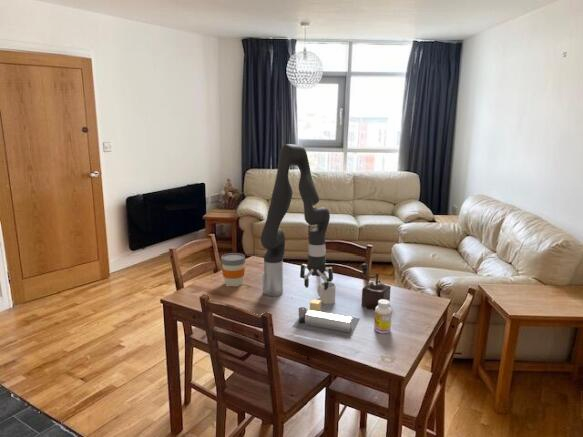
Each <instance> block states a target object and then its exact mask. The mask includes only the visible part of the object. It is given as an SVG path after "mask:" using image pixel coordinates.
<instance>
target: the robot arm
mask: <svg viewBox="0 0 583 437" xmlns="http://www.w3.org/2000/svg"><path fill="white" fill-rule="evenodd" d="M278 156H279V157H278V163H277V171H276V177H275V182H274V185H273V190H272V193H271V198H270V204H269V208H268V212H267V215H266V216H267V217H266V219H265V223H264V225H263V229H262V232H261V235H260V243H261V246H263V248H264V249H266V252H265V253H264V255H263V275H262V294H264V295H266V296H268V297H278V296H281V295H282V294H283V293H284V292H283V291H284V288H283V287H284V286H283V285H284V281H283V280H284V278H283V276H284V275H283V274H284V272H283V271H284V270H283V269H284V268H283V267H284V266H283V264H284V261H283V258H284V255H285V245H286V239H285V233H284V231H283V230H282V228H280V225H281V223H282V221H283V219H284V218H285V216H286V214H287V213H288V210H289V208H290V206H291V202H292V198H293V189H292V186H291V182H290V180H289V171H290V167H291V166H297V167H298V170H299V173H300V175H299V181H298V191H299V195H300V196H301V197H300V198H301V201H302V203H303V204H302V205H303V213H304V221H305V222H306V224H308V225H309V226H315V225H316V226H315V227H314V228H312V229H310V230H309V232H308V246H307V264H306V263H302V264H301V265H300V273H299V277H300V278H301V279H304V282H303V283H304V287H305V288H307V289H308V288H309V282H310V281H309V277H310V276H313V277H315V276H316V277H320V279H322V280H323V281H324V290H327V289H328V287H329V282H332V281H333V279H334V274H333V273H334V272H333V270H334V268H333V267H332V266H330V267H327V266H326V254H327V252H326V251H327V250H326V233H327V230H328V226H329V223H330V219H331V218H330V217H331V216H330V211H329V209H328V208H326V207H324V206H320V207H313V206H316V205H317V204H318V203H319V202H320V197H319V194H318V192H317V189H316V186H315V184H314V180H313V176H312V171H311V166H310V163H309V157H308V154H307V151H306V148H305V147H304V146H303V145H299V144H292V143H291V144H290V143H286V144H284V145H282V146H281V148H280V152H279V155H278ZM306 269H307V270H308V272H307V273H306V272H305V271H306ZM305 273H306V274H305ZM327 273H328V275H327Z"/></svg>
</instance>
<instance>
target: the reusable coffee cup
mask: <svg viewBox="0 0 583 437" xmlns="http://www.w3.org/2000/svg"><path fill="white" fill-rule="evenodd" d="M245 263H246V255H244V253H238V252H230V253H225V254H223V255H221V259H220V264H221V265H222V266H221V272H222V277H223V278H224V285H225V284H226V285H227V287H228V286H238V287H240V286H239V285H241V284H242V285H243V283H244V282H243V281H244V276H245V273H246V272H245V271H246V266H245ZM226 285H225V286H226ZM242 285H241V286H242Z"/></svg>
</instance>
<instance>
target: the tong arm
mask: <svg viewBox="0 0 583 437" xmlns="http://www.w3.org/2000/svg"><path fill="white" fill-rule="evenodd" d="M324 312H325V311H321V312H318V311H312V310H310V309H308V311H307V313H312V314H318V315H324V316H329V317H335V318H341V319H346V320H351V322H350V329H351V328H352V317H353V316H348V315H343V316H341V315H342V314H337V315H335V314H336V313H331V314H329V313H330V312H325V313H324ZM347 316H348V317H347Z"/></svg>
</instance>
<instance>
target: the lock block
mask: <svg viewBox="0 0 583 437" xmlns="http://www.w3.org/2000/svg"><path fill="white" fill-rule="evenodd" d="M309 310H312V311H318V312H322V303H321V300H320V299H315V298H312V300H311V301H310V302H309Z"/></svg>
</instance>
